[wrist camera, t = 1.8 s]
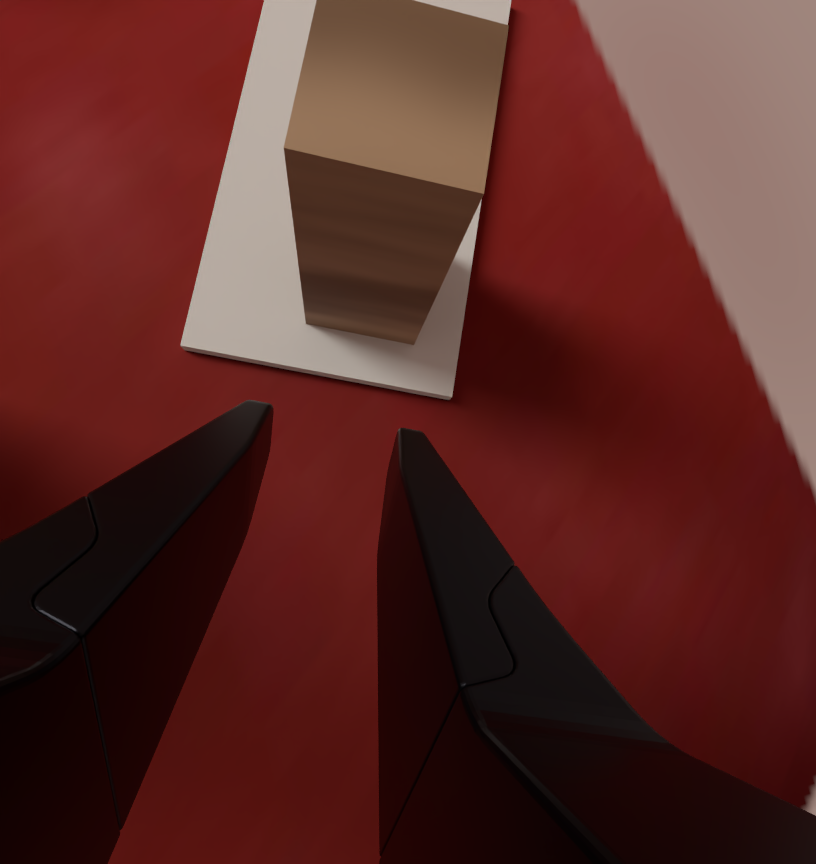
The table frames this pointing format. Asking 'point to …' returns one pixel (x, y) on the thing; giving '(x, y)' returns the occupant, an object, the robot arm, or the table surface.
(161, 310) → the table surface
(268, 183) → the mat
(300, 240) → the walnut block
